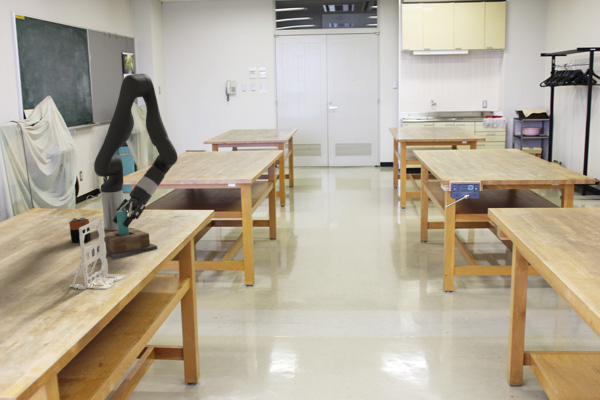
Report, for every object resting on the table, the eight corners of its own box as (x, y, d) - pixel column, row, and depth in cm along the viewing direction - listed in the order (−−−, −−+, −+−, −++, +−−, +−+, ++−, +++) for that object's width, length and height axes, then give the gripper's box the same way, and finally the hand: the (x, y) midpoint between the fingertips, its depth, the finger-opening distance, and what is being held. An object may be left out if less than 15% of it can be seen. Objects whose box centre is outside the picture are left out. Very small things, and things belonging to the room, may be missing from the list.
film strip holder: (107, 290, 185) (101, 229, 181) (67, 288, 188) (60, 228, 184) (128, 275, 199) (123, 218, 195) (91, 274, 202) (85, 217, 197)
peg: (118, 246, 230) (114, 211, 227) (127, 244, 233) (124, 209, 230) (122, 248, 227) (119, 213, 224) (132, 246, 230) (128, 211, 227)
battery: (87, 242, 241) (85, 219, 239) (71, 243, 241) (68, 219, 239) (91, 239, 246) (88, 216, 243) (75, 240, 246) (72, 217, 244)
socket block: (93, 249, 231) (91, 234, 229) (135, 240, 243) (133, 225, 241) (114, 259, 218) (112, 243, 216) (157, 248, 230) (156, 233, 228)
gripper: (128, 183, 235) (104, 216, 230) (146, 187, 225) (121, 221, 220) (141, 194, 240) (118, 226, 234) (159, 198, 230) (135, 232, 224)
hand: (119, 224), depth 227 cm, fingers open, 8 cm apart
